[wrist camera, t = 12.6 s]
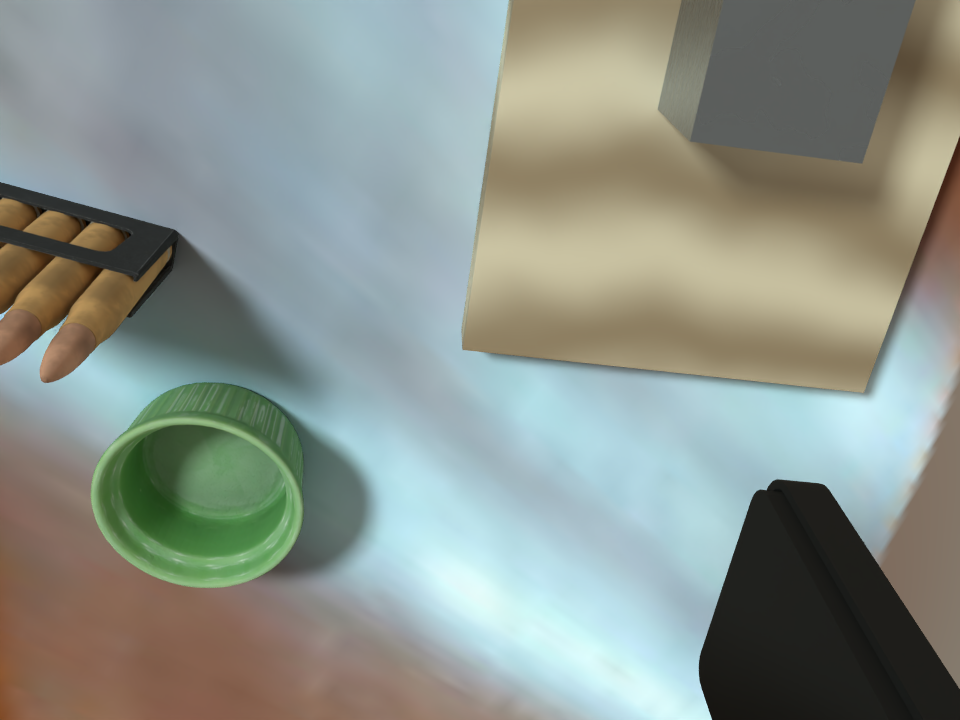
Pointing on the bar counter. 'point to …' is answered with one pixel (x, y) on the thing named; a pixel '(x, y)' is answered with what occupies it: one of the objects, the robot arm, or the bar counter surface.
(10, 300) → the ammunition clip
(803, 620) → the robot arm
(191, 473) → the ramekin
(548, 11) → the board
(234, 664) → the bar counter surface
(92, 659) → the bar counter surface
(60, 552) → the bar counter surface
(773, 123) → the grey rectangular block
